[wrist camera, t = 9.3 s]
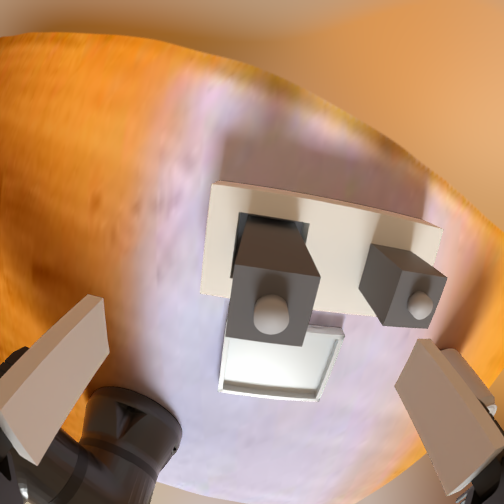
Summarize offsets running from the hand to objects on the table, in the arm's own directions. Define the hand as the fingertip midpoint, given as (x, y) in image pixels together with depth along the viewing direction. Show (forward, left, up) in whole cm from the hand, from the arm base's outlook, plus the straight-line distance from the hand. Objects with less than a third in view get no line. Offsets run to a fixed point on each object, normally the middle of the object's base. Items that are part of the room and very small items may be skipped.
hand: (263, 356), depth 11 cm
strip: (+5, -3, -17) cm, 17 cm away
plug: (0, 0, -15) cm, 15 cm away
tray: (-4, -13, -17) cm, 21 cm away
